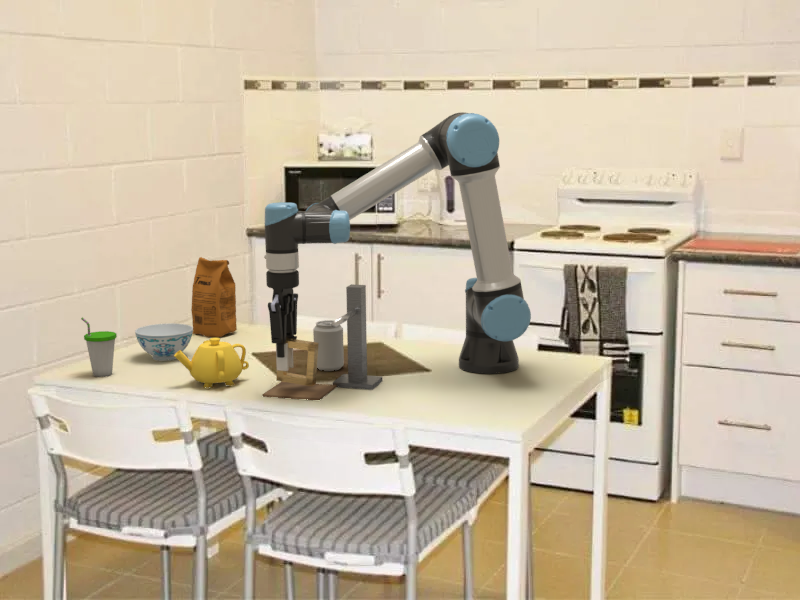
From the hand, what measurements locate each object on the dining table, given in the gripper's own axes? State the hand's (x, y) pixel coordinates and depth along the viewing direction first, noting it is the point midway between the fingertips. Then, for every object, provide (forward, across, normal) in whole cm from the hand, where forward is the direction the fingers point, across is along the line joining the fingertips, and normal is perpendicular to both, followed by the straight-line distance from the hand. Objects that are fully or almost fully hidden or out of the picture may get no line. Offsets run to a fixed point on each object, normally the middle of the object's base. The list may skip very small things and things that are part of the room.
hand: (285, 368), depth 272 cm
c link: (+3, 0, +3) cm, 4 cm away
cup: (+6, -3, -50) cm, 51 cm away
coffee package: (+6, -53, -43) cm, 69 cm away
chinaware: (+6, -23, -43) cm, 49 cm away
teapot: (+6, -3, -20) cm, 21 cm away
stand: (+5, -4, +15) cm, 16 cm away
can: (+6, -23, +3) cm, 24 cm away
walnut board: (+6, 0, +4) cm, 7 cm away
